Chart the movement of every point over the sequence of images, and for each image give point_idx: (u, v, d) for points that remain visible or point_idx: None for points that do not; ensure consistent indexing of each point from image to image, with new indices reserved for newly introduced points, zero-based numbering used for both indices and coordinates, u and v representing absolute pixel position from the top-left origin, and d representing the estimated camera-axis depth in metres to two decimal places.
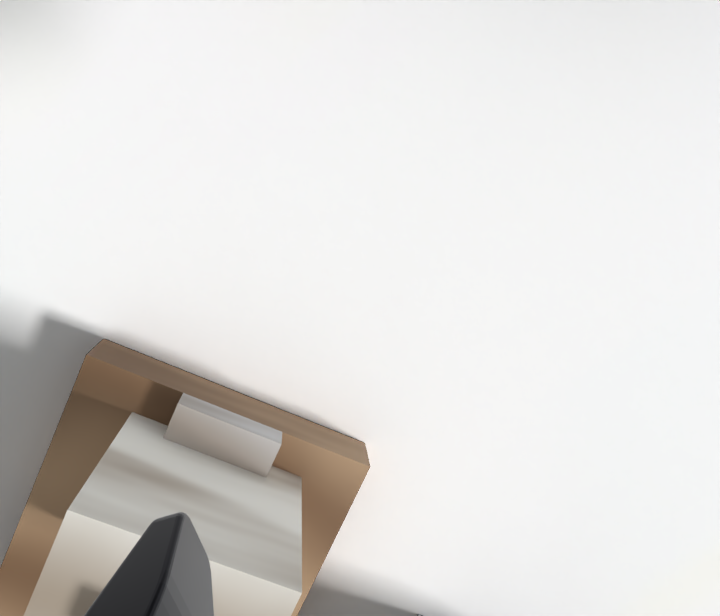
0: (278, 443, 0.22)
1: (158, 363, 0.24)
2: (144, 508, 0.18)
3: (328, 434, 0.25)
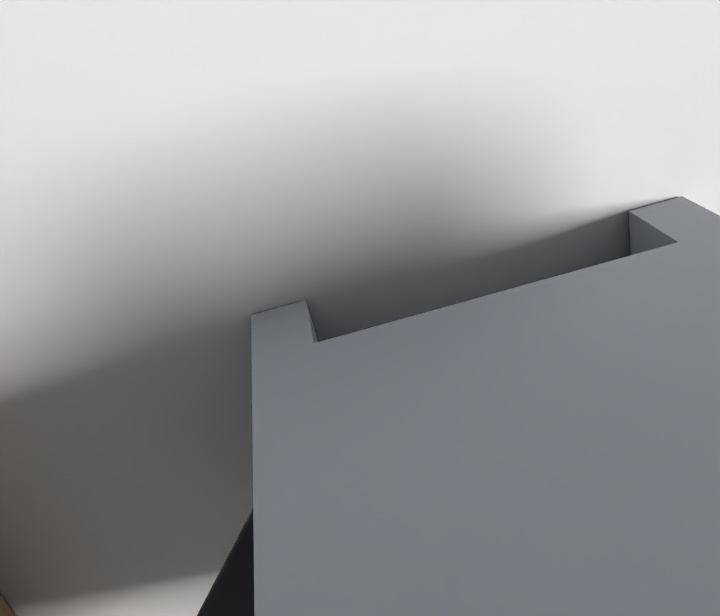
0: None
1: None
2: None
3: None
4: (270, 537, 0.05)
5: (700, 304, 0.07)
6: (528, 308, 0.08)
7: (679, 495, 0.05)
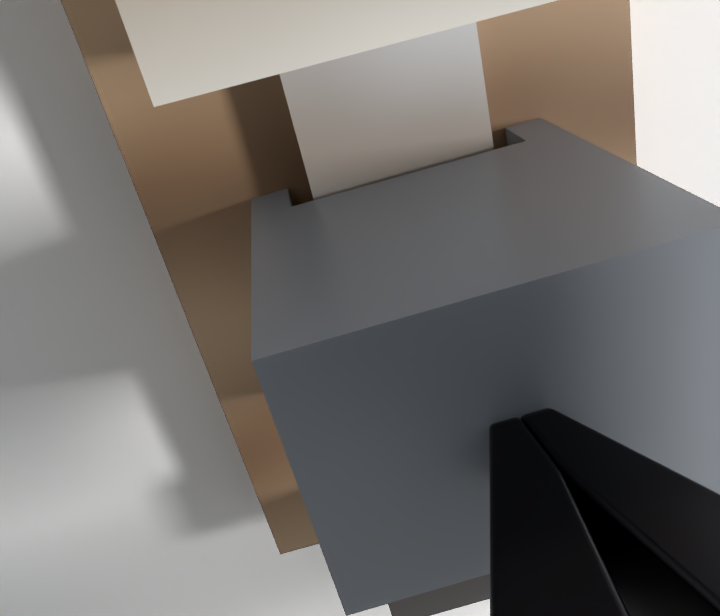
0: None
1: None
2: None
3: None
4: (260, 278, 0.10)
5: (522, 168, 0.11)
6: (424, 179, 0.12)
7: (473, 239, 0.09)
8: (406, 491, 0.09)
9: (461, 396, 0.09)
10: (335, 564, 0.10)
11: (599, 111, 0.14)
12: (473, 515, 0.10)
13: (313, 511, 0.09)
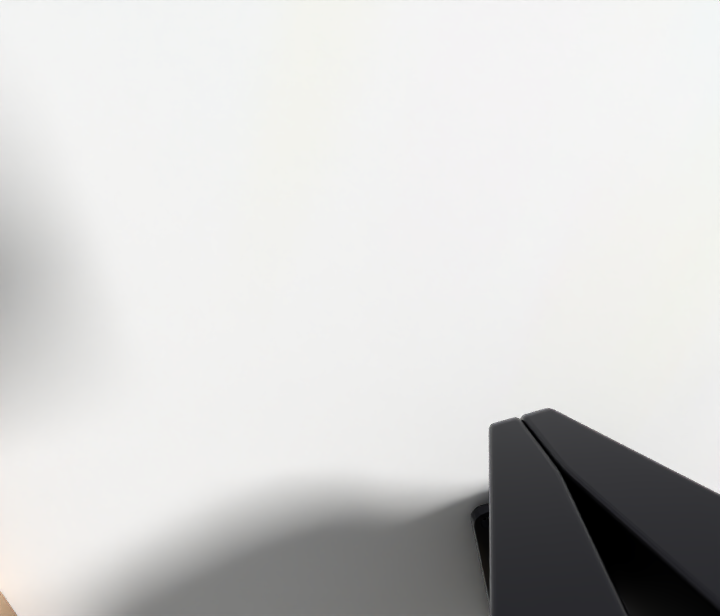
0: None
1: None
2: None
3: None
4: None
5: None
6: None
7: None
8: None
9: None
10: None
11: None
12: None
13: None
